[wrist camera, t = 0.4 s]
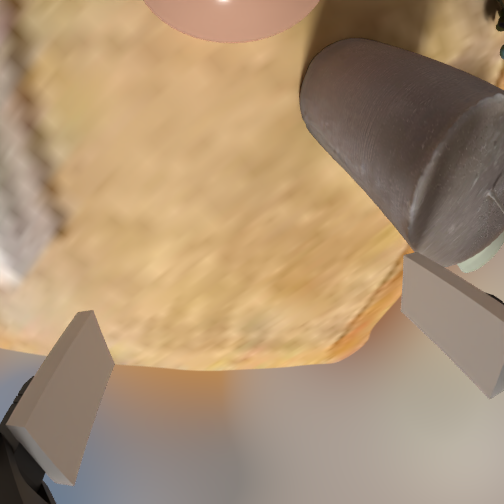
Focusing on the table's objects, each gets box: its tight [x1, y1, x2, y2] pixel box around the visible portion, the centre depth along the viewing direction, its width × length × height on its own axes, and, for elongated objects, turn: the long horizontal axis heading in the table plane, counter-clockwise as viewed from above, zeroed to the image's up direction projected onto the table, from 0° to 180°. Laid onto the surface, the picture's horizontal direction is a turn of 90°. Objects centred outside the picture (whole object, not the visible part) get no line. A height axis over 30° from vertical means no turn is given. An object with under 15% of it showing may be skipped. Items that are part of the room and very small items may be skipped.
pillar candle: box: [300, 38, 504, 267], centre depth 16 cm, size 10×10×15 cm
